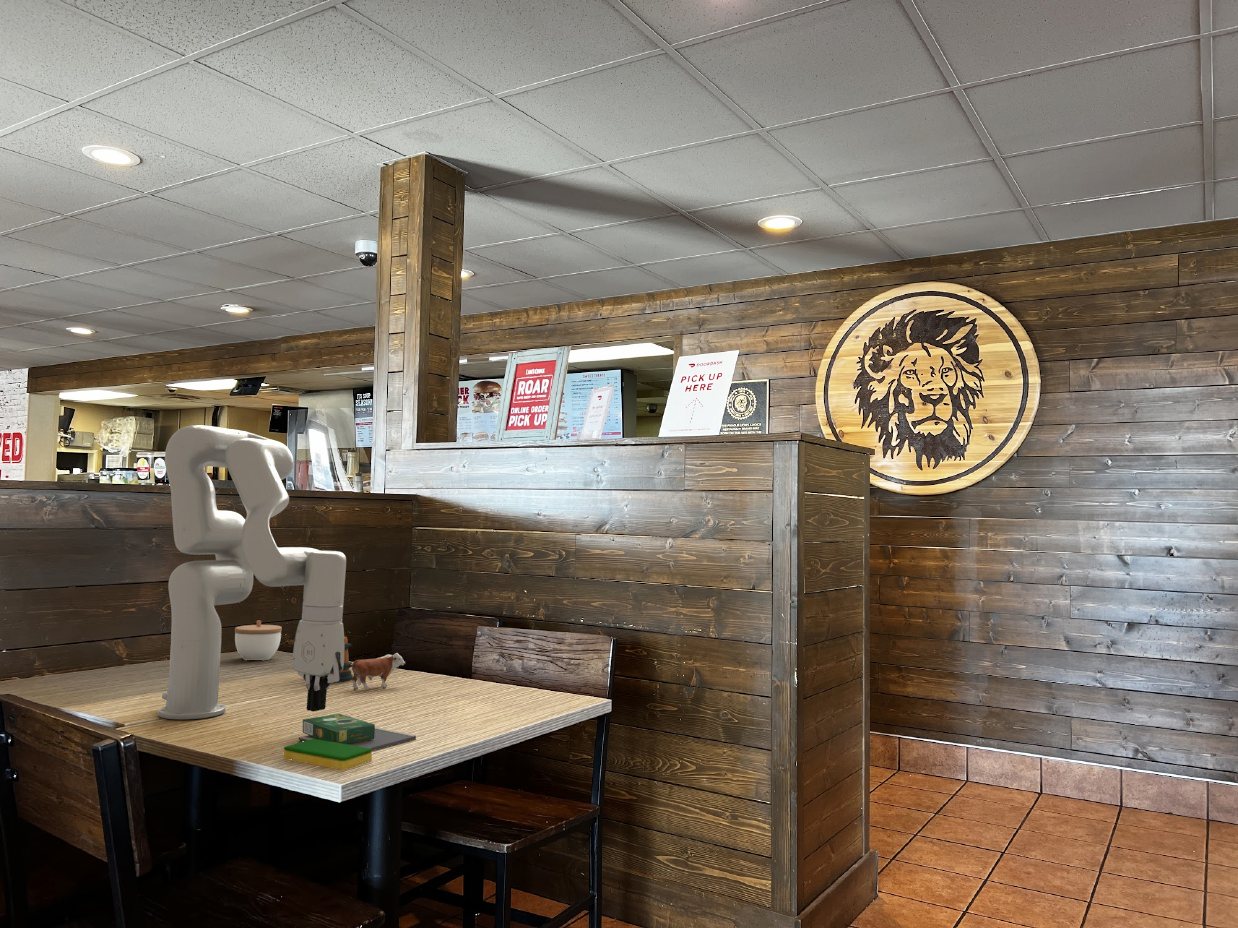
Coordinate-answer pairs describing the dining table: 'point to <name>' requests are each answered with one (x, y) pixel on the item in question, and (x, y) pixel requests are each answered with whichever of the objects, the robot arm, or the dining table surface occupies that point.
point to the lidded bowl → (257, 641)
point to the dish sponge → (328, 754)
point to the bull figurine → (375, 669)
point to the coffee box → (339, 729)
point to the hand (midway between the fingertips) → (315, 709)
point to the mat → (377, 739)
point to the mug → (346, 664)
